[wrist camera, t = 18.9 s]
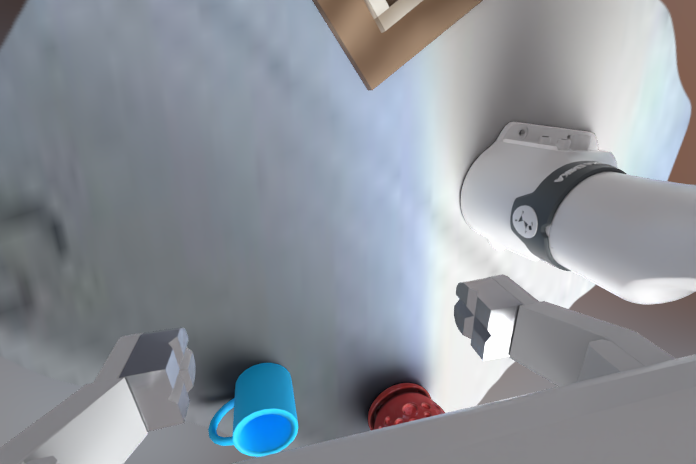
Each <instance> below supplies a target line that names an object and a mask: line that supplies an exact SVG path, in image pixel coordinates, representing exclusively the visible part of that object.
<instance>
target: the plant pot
mask: <svg viewBox="0 0 696 464" xmlns="http://www.w3.org/2000/svg"><path fill="white" fill-rule="evenodd" d="M444 413H445V412H444V411H443V409H442V408H441V407H440V406H438V405H437V404H436V403H435V402H434V401H432V400H431V397H430V395H429V393H428V392H427V391H426V390H425V389H424V388H423V387H421V386H419V385H417V384H413V383H401V384H397V385H394V386H391V387H389V388H387V389H386V390H384V391H383V392H382V393H381V394H380V395H379V396H378V397H377V398H376V399H375V400H374V402H373V403H372V405H371V407H370V410H369V414H368V424H369V427H370V430H376V429H380V428H384V427H388V426H393V425H397V424H401V423H405V422H410V421H414V420H418V419H422V418H427V417H431V416H435V415H439V414H444Z"/></svg>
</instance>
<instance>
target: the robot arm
mask: <svg viewBox="0 0 696 464" xmlns="http://www.w3.org/2000/svg"><path fill="white" fill-rule="evenodd" d="M520 130H521V133H520V135H519V132H520ZM461 210H462V214H463V217H464V219H465V221H466V223H467V224H468V226H469V227H470V228H471V229H472V230H473V231H475V232H476V233H478V234H480V235H482V236H484V237H485V238H486V239H487V241H488V242H489V244H490V245H491V247H492V248H493V249H495V250H497V251H504V250H507V249H508V250H510V251H512V252H515V253H517V254H519V255H521V256H523V257H526V258H528V259H530V260H533V261H538V260H539V259H541V260H542V261H544V262H545V263H547V264H549V265H552V266H554V267H557V268H559V269H562V270H566V271H573V272H574V273H576V274H578V275H580V276H582V277H584V278H585V279H587V280H589V281H591V282H593V283H595V284H596V285H598V286H600V287H602V288H604V289H606V290H607V291H609V292H611V293H613V294H615V295H617V296H618V297H620V298H622V299H624V300H627V301H630V302H633V303H638V304H658V303H664V302H669V301H674V300H678V299H680V298H683V297H685V296H687V295H690V294H691V293H693V292H696V185H689V184H680V183H674V182H667V181H661V180H655V179H649V178H643V177H638V176H632V175H627V174H626V173H625V172H623V171H622V170H619V169H617V163H616V159H615V157H614V155H613V154H612V153H611V152H608V151H603V150H599V146H598V141H597V137H596V135H595V134H594V133H591V132H587V131H581V130H573V129H566V128H558V127H551V126H543V125H535V124H528V123H520V122H510V123H508V124H507V125H506V126H505V127H504V128H503V130H502V131H501V133H500V135H499V136H498V138H497V140H496V141H495V142H494V143H493V144H492V145H491V146H490V147H489V148H488V149H487V150H485V151H484V152H483V153H482V154H481V155H480V156H479V157H478V158H477V159H476V161H475V162H474V163H473V165H472V166H471V168H470V170H469V171H468V173H467V175H466V178H465V180H464V183H463V187H462V191H461ZM456 295H457V296H458V298H459V301H458V302H457V303H456V305H455V306H454V317H455V322H456V325H457V327H458V329H459V330H460V332H461V333H462V334H463V335H464V336H466V337H468V338H470V339H471V346H472V347H473V349H474V350H475V351H476V352H477V354H478V355H479V356H480V357H481V359H482V360H483V361H484V360H489V359H495V358H501V357H506V356H509V358H511V359H513V360H515V361H516V362H518V363H520V364H521V365H523V366H525V367H526V368H528V369H530V370H531V371H533V372H535V373H536V374H538V375H540V376H542V377H543V378H545V379H547V380H548V381H550V382H552V383H553V384H555V385H557V386H558V387H555V388H551V389H546V390H542V391H538V392H534V393H529V394H525V395H521V396H517V397H512V398H508V399H504V400H500V401H495V402H491V403H487V404H482V405H478V406H474V407H469V408H465V409H461V410H457V411H452V412H448V413H444V414H439V415H435V416H431V417H427V418H422V419H418V420H414V421H410V422H405V423H401V424H397V425H393V426H388V427H384V428H380V429H376V430H371V431H367V432H363V433H359V434H354V435H350V436H346V437H342V438H337V439H333V440H329V441H325V442H320V443H316V444H312V445H308V446H303V447H299V448H295V449H291V450H286V451H282V452H278V453H274V454H269V455H265V456H261V457H257V458H252V459H248V460H244V461H240V462H235V463H231V464H696V354H695V355H691V356H686V357H683V358H678V359H676V358H674V357H673V356H671V355H669V354H668V353H667V352H665V351H664V350H662V349H661V348H659V347H658V346H656V345H655V344H653V343H652V342H650V341H649V340H647V339H646V338H644V337H643V336H642V335H640V334H638V333H637V332H636V331H633V330H630V329H627V328H623V327H621V326H618V325H615V324H611V323H608V322H605V321H602V320H599V319H596V318H593V317H590V316H587V315H584V314H581V313H578V312H575V311H572V310H569V309H566V308H563V307H560V306H557V305H554V304H551V303H548V302H545V301H543V302H539V301H538V300H536V299H535V298H534V297H533V296H531V295H530V294H529V293H528V292H526V291H525V290H524V289H523V288H521V287H520V286H519V285H518V284H516V283H515V282H514V281H513V280H511V279H510V278H509V277H508V276H505V275H497V276H492V277H488V278H484V279H478V280H472V281H466V282H460V283H458V285H457V288H456ZM188 340H189V338H188V335H187V332H186V329H184V328H183V327H180V328H173V329H166V330H159V331H152V332H145V333H139V334H132V335H126V336H123V337H121V338H119V340H118V341H117V343H116V345H115V346H114V348H113V350H112V351H111V353H110V355H109V356H108V358H107V360H106V362H105V363H104V365H103V367H102V368H101V370H100V372H99V374H98V375H97V377H96V379H95V380H94V382H93V383H91V384H86V385H85V386H83V387H82V388H80V389H79V390H78V391H76V392H75V393H74V394H72V395H71V396H70V397H68V398H67V399H66V400H64V401H63V402H61V403H60V404H59V405H57V406H56V407H55V408H54V409H52V410H51V411H49V412H48V413H46V414H45V415H44V416H42V417H41V418H40V419H38V420H37V421H36V422H35V423H33V424H32V425H30V426H29V427H27V428H26V429H25V430H23V431H22V432H21V433H19V434H18V435H17V436H15V437H14V438H12V439H11V440H10V441H9V442H7V443H6V444H4V445H3V446H2V447H0V464H123V463H124V462H125V461H126V460H127V458H128V457H129V456H130V455H131V454H132V452H133V451H134V450H135V449H136V447H137V446H138V445H139V444H140V443H141V441H142V440H143V439H144V438H145V437H146V435H147V434H148V433H147V432H149V431H154V430H157V429H162V428H166V427H170V426H175V425H179V424H183V423H184V422H185V418H186V414H187V410H188V406H189V402H190V400H189V397H188V394H187V393H188V392H189V391H190V390H191V389H192V388H193V385H194V381H195V368H196V367H195V359H194V355H193V352H192V351H191V350H189V349H188V348H186V347H187V343H188Z"/></svg>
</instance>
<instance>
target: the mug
mask: <svg viewBox="0 0 696 464" xmlns="http://www.w3.org/2000/svg"><path fill="white" fill-rule="evenodd" d="M233 407H234V421H233V436H232V437H220V436H218V435H217V432H216V429H217V426H218V423H219V422H220V420H221V419H222V417H223V416H224V415H225V414H226V413H227V412H228V411H229V410H230V409H232V408H233ZM208 430H209V437H210V439H211V440H212V441H213V442H214V443H215V444H219V445H222V446H227V445H235V447H236V448H237V449H238V450H239V451H240V452H241V453H243V454H246V455H248V456H257V457H260V456H265V455H269V454H274V453H277V452H279V451H281V450H282V449H284V448H286V447H287V446H288V445H289V444H290V443H291V442H292V441H293V440H294V438H295V436H296V435H297V431H298V421H297V414H296V407H295V400H294V393H293V386H292V380H291V376H290V373H289V372H288V371H287V369H286V368H284V367H283V366H281V365H279V364H275V363H261V364H257V365H254V366H252V367H250V368H248V369H246V370H245V371H244V372H243V373H242V374H241V375H240V376H239V378H238V380H237V382H236V386H235V398H233V399H231V400H230V401H229V402H227V403H226V404H225V405H223V406H222V407H221V408H220V409H219V411H218V412H217V413H216V414H215V415H214V417H213V419H212V420H211V423H210V426H209V429H208Z"/></svg>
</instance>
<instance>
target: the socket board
mask: <svg viewBox="0 0 696 464" xmlns="http://www.w3.org/2000/svg"><path fill="white" fill-rule="evenodd" d="M312 1H313V2H314V4H315V5H316V7H317V9H318V10H319V12H320V14H321V15H322V17H323V18H324V20H325V22H326V23H327V25H328V26H329V28H330V30H331V31H332V33H333V34H334V36H335V38H336V39H337V41H338V43H339V44H340V46H341V47H342V49H343V51H344V52H345V54H346V55H347V57H348V59H349V60H350V62H351V63H352V65H353V67H354V68H355V70H356V72H357V73H358V75H359V76H360V78H361V80H362V81H363V83H364V84H365V86H366V88H367V89H368V90H373V89H374V88H376V87H377V86H378V85H379V84H380V83H382V82H383V81H384V80H385V79H387V78H388V77H389V76H390V75H392V74H393V73H394V72H395V71H396V70H398V69H399V68H400V67H401V66H403V65H404V64H405V63H406V62H408V61H409V60H410V59H411V58H412V57H414V56H415V55H416V54H417V53H419V52H420V51H421V50H422V49H424V48H425V47H426V46H427V45H428V44H430V43H431V42H432V41H433V40H435V39H436V38H437V37H438V36H439V35H441V34H442V33H443V32H444V31H446V30H447V29H448V28H449V27H451V26H452V25H453V24H454V23H455V22H457V21H458V20H459V19H460V18H462V17H463V16H464V15H465V14H467V13H468V12H469V11H470V10H471V9H473V8H474V7H475V6H476V5H478V4H479V3H480V2H481V1H483V0H312Z"/></svg>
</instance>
